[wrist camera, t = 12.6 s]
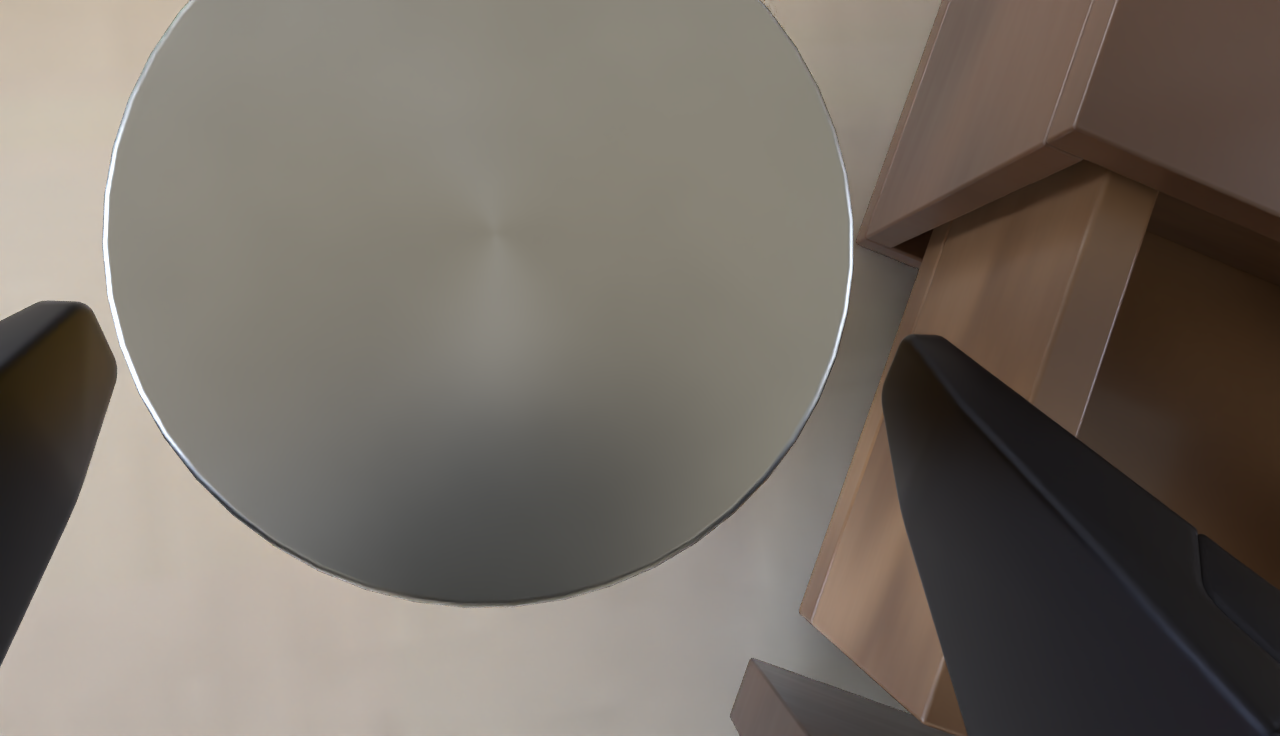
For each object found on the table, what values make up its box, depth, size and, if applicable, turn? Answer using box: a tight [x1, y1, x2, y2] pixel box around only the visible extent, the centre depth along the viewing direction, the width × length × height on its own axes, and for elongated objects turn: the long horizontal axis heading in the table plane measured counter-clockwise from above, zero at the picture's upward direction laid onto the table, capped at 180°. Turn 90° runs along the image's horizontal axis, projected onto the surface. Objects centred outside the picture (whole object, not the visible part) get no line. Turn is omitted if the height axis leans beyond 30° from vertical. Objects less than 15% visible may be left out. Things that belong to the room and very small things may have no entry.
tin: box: [102, 0, 853, 608], centre depth 11 cm, size 5×5×10 cm
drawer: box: [730, 159, 1280, 736], centre depth 13 cm, size 16×11×6 cm
